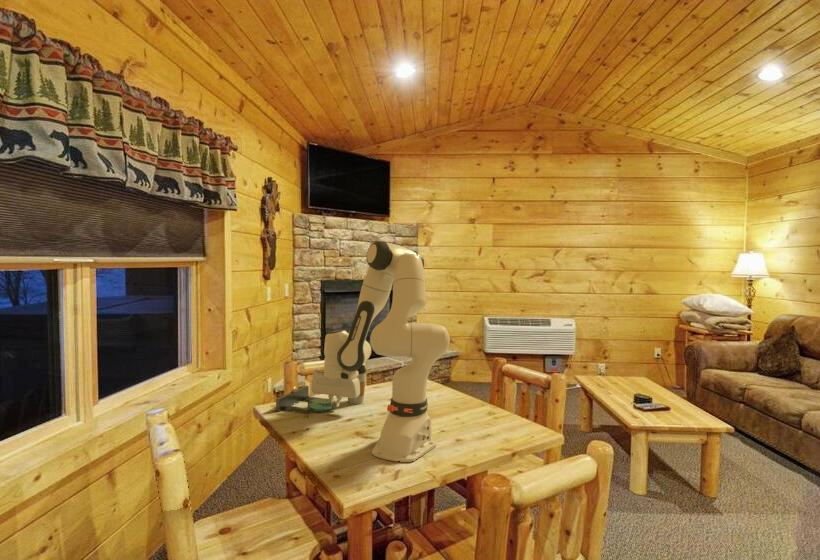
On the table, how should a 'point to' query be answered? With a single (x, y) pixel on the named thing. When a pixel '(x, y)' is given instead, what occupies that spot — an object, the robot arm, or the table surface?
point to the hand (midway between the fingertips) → (335, 406)
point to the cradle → (294, 400)
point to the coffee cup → (362, 386)
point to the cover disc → (320, 405)
